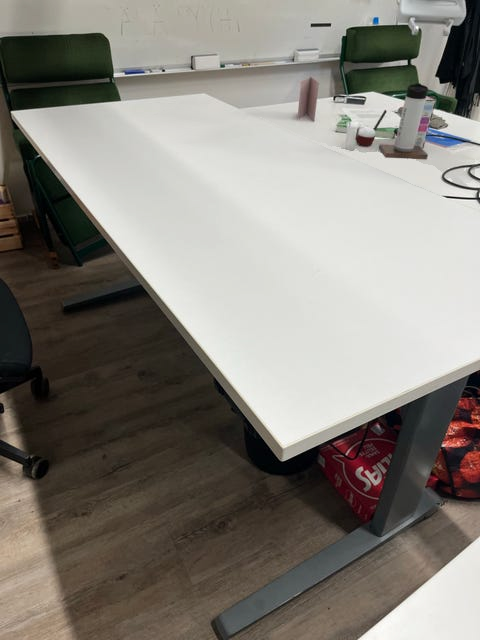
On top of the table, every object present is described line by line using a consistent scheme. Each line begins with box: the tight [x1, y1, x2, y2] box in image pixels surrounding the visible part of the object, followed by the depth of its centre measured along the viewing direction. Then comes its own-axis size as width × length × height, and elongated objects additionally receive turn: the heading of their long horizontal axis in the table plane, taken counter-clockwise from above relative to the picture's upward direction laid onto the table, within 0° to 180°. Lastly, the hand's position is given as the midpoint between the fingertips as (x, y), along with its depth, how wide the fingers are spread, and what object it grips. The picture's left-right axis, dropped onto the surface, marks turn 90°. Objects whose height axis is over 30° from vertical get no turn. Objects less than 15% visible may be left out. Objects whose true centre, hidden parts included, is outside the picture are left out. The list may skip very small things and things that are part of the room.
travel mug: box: [394, 82, 429, 152], centre depth 157 cm, size 6×7×20 cm
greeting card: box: [296, 76, 320, 122], centre depth 191 cm, size 11×7×15 cm, turn 154°
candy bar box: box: [414, 95, 437, 150], centre depth 168 cm, size 11×5×16 cm, turn 10°
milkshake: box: [344, 120, 362, 152], centre depth 162 cm, size 5×5×10 cm
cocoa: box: [356, 109, 388, 147], centre depth 167 cm, size 10×6×12 cm, turn 68°
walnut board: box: [378, 143, 429, 160], centre depth 164 cm, size 14×10×2 cm
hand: (430, 34), depth 145 cm, fingers open, 8 cm apart
